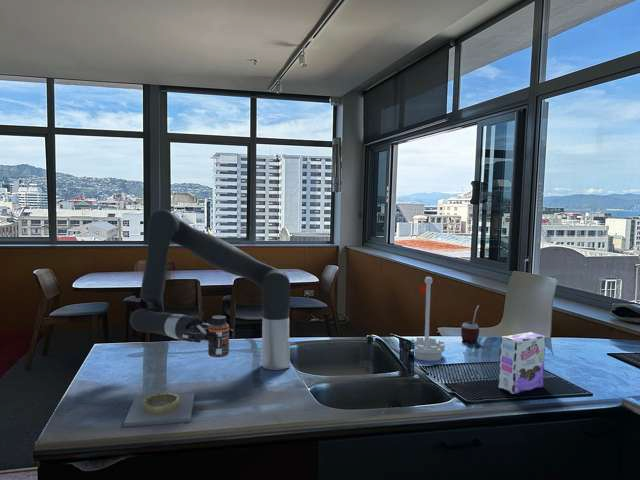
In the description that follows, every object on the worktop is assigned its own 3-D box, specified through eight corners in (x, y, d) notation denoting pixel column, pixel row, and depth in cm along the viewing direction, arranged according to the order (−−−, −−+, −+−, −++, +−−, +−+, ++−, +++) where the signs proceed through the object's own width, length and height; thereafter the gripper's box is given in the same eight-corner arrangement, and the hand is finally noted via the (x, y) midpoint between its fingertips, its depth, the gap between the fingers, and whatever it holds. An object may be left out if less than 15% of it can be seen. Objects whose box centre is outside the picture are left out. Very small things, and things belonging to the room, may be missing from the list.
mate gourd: (462, 344, 191) (463, 308, 190) (459, 338, 198) (460, 304, 197) (481, 345, 189) (482, 309, 188) (477, 340, 197) (479, 305, 196)
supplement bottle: (224, 359, 132) (224, 320, 132) (204, 357, 134) (204, 318, 133) (232, 352, 138) (232, 315, 137) (213, 350, 140) (213, 313, 139)
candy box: (513, 394, 139) (515, 340, 138) (497, 388, 144) (499, 335, 143) (544, 387, 146) (546, 335, 144) (527, 380, 151) (530, 331, 150)
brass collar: (180, 398, 130) (180, 391, 130) (177, 413, 121) (177, 405, 121) (146, 401, 128) (146, 394, 128) (140, 415, 119) (140, 408, 119)
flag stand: (451, 357, 173) (454, 277, 171) (427, 363, 166) (429, 280, 164) (425, 348, 184) (427, 273, 182) (401, 354, 177) (403, 275, 174)
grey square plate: (194, 396, 134) (194, 393, 134) (190, 421, 119) (190, 417, 119) (135, 400, 131) (135, 397, 131) (123, 426, 115) (123, 422, 115)
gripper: (164, 320, 136) (207, 328, 128) (200, 310, 149) (241, 318, 140) (165, 345, 137) (207, 355, 128) (200, 334, 149) (241, 342, 141)
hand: (225, 335), depth 134 cm, fingers closed on supplement bottle, 6 cm apart
